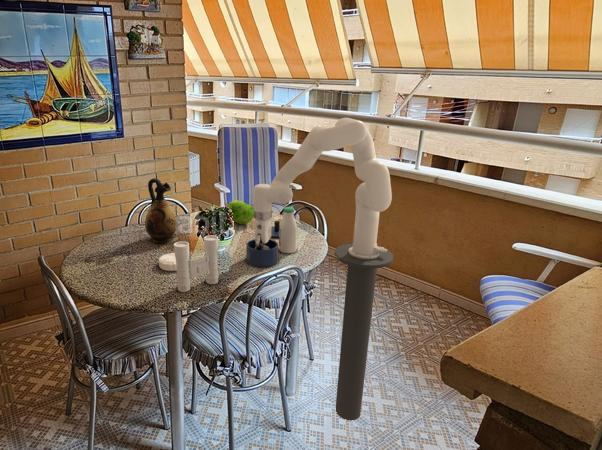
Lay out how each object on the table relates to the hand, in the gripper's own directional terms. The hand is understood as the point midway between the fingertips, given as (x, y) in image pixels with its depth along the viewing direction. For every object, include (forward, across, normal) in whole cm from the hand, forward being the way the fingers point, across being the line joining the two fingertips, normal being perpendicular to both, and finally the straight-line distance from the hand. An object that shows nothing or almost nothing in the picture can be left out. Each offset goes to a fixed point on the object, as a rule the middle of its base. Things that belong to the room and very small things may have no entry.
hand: (262, 254), depth 173 cm
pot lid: (+2, +34, +2) cm, 34 cm away
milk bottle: (+3, +14, -8) cm, 16 cm away
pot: (+3, 0, 0) cm, 3 cm away
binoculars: (+3, -29, +17) cm, 34 cm away
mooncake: (+3, -16, +34) cm, 38 cm away
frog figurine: (+2, 0, 0) cm, 2 cm away
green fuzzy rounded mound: (+3, +44, +26) cm, 51 cm away
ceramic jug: (+3, +9, +54) cm, 55 cm away
